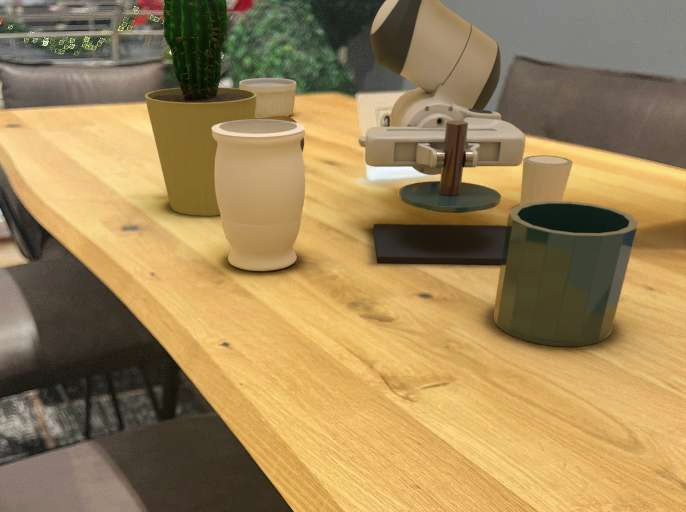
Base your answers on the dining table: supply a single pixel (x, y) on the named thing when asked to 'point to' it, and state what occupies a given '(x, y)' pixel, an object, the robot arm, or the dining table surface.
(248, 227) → the jar
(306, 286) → the dining table surface
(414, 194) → the jar lid
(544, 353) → the dining table surface
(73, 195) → the dining table surface
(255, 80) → the ramekin
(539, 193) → the beige cylinder
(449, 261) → the mat
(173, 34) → the potted cactus
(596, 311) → the storage jar
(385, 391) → the dining table surface
